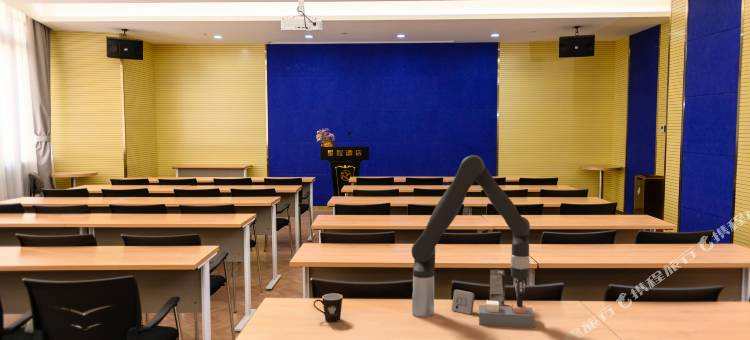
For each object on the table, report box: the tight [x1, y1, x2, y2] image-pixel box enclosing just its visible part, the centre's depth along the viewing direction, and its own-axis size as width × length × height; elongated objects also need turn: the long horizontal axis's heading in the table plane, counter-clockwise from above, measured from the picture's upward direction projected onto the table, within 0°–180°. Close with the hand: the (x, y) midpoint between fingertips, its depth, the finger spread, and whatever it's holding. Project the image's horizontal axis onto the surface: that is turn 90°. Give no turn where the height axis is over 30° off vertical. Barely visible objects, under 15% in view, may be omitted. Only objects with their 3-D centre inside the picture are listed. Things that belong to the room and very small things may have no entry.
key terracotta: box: [512, 303, 527, 314], centre depth 235 cm, size 5×5×5 cm
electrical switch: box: [451, 289, 475, 315], centre depth 250 cm, size 9×5×9 cm, turn 54°
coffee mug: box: [313, 293, 343, 323], centre depth 241 cm, size 12×9×10 cm
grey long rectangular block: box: [478, 304, 535, 329], centre depth 236 cm, size 22×10×5 cm, turn 80°
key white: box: [485, 299, 499, 312], centre depth 237 cm, size 5×5×5 cm
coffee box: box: [489, 269, 506, 306], centre depth 254 cm, size 9×6×16 cm
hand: (519, 306), depth 235 cm, fingers closed
